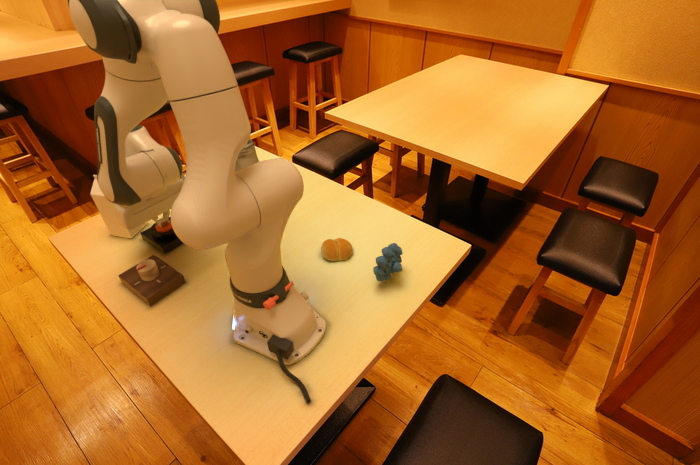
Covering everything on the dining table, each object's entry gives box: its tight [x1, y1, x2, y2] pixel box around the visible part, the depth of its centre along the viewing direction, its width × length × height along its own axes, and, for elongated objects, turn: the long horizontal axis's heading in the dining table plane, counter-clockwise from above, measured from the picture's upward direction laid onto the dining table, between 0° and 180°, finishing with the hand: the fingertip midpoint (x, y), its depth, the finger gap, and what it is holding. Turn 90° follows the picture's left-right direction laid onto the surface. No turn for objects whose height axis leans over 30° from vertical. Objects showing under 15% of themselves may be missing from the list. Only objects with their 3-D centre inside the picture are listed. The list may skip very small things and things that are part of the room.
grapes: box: [372, 242, 403, 282], centre depth 96 cm, size 12×7×12 cm, turn 141°
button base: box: [140, 216, 184, 255], centre depth 110 cm, size 11×10×4 cm
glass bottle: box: [235, 137, 260, 171], centre depth 111 cm, size 10×10×28 cm
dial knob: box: [136, 259, 160, 281], centre depth 95 cm, size 4×4×4 cm
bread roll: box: [320, 237, 353, 262], centre depth 107 cm, size 8×9×4 cm
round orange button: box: [155, 221, 173, 233], centre depth 109 cm, size 5×5×2 cm
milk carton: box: [89, 174, 147, 239], centre depth 108 cm, size 7×7×19 cm
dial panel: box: [117, 254, 186, 308], centre depth 97 cm, size 13×10×3 cm
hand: (163, 224), depth 109 cm, fingers closed, pressing on round orange button
